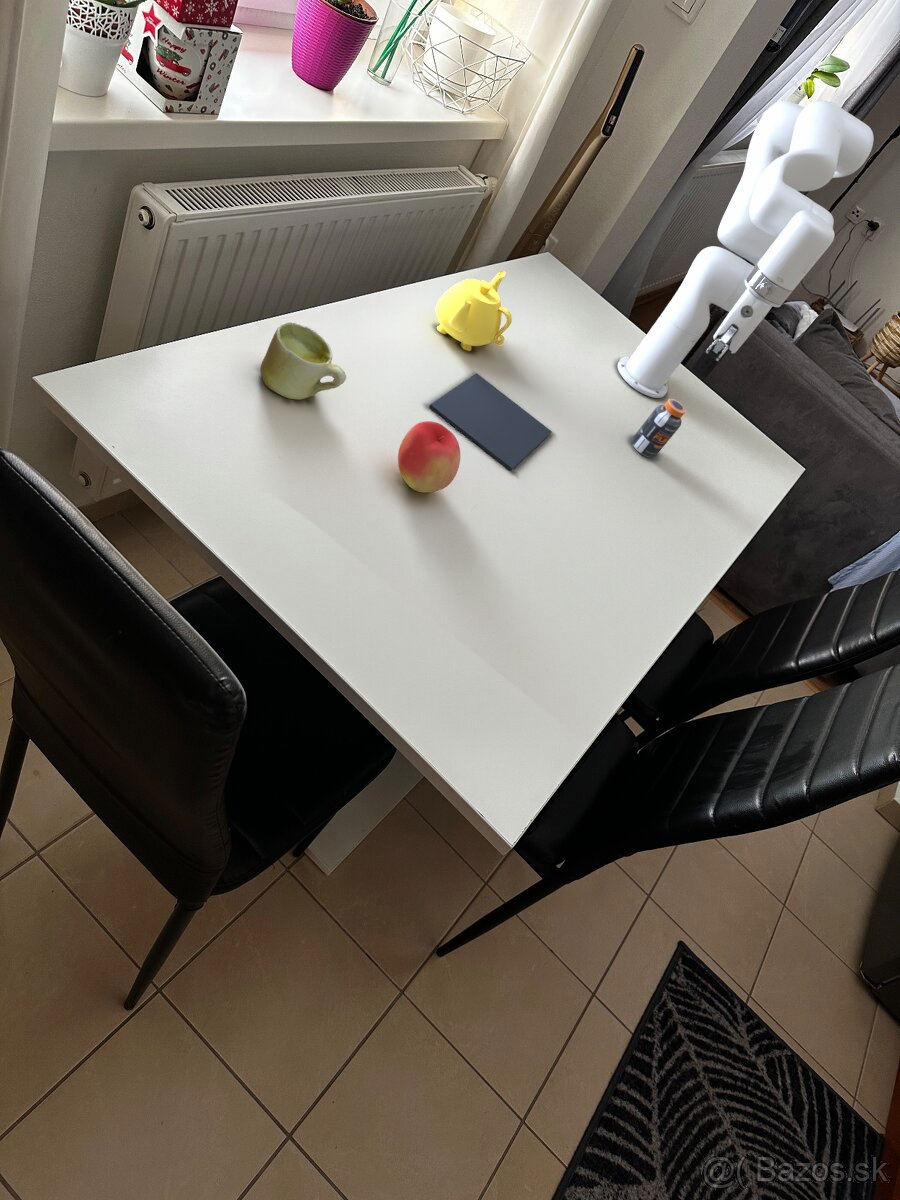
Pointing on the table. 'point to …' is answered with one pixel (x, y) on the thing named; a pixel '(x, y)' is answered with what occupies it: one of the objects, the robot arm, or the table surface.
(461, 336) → the teapot
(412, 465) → the apple
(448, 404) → the mat
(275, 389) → the mug
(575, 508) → the table surface
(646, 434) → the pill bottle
